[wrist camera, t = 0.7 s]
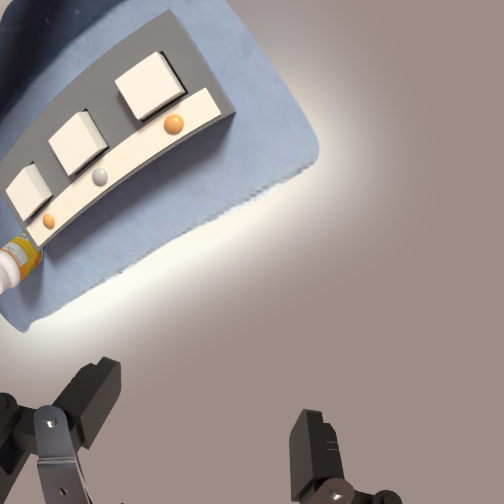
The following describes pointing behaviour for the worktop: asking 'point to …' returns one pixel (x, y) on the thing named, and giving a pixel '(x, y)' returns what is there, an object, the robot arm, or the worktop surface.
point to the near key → (150, 86)
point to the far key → (29, 192)
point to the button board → (114, 125)
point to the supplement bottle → (17, 261)
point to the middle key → (78, 142)
